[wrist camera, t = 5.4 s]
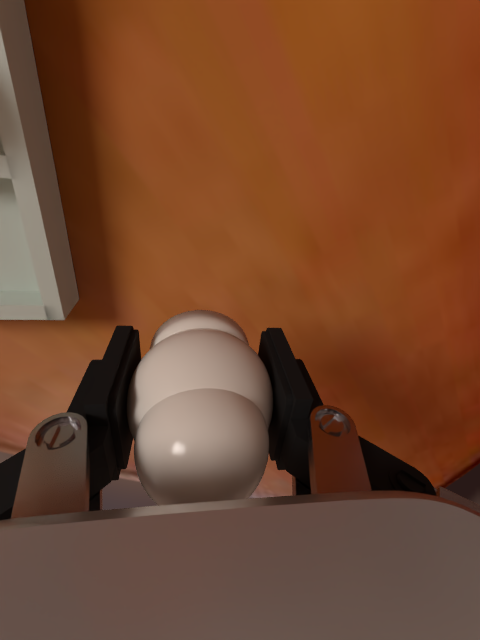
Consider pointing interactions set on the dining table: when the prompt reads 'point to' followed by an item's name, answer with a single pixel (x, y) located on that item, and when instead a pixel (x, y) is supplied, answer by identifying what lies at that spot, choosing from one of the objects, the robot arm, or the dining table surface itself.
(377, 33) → the dining table surface
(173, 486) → the white egg shape
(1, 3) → the egg carton
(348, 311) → the dining table surface
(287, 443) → the robot arm
